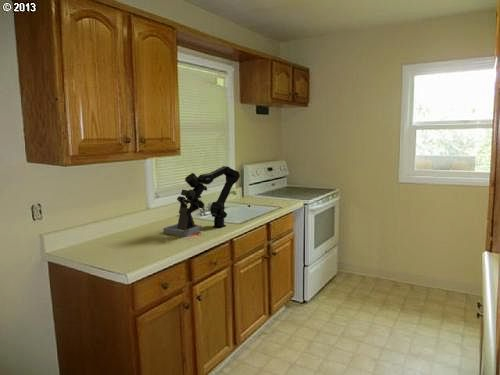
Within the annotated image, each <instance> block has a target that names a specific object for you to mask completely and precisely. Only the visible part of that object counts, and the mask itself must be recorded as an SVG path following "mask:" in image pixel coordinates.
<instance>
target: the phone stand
mask: <svg viewBox="0 0 500 375" xmlns="http://www.w3.org/2000/svg"><path fill="white" fill-rule="evenodd" d="M188 209H189V207H187V208H184V207H182V208H180V207H179V210H180V214H179V217H178V223H177V224H178V226H177V229H180V230H188V229H191V228H194V227H195V225H196V224H195V222H194V221H195V220H194V218H193V216H192V213H190V214H189V215H186V213H187V211H188Z"/></svg>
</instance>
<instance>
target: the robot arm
mask: <svg viewBox="0 0 500 375" xmlns="http://www.w3.org/2000/svg"><path fill="white" fill-rule="evenodd" d="M223 175H224V176H225V183H224V185H223V188H222V189H221V191H220V194H219V196H218V198H217V200H216V201H212V202H211V205H210V207H209V208H210V209H209V211H210V214H211V217H212V218H214V220H213V224H214V225H212V228H218V229H219V228H220V229H221V228H224V227H226V226H227V224H225V219H226V218H227V215H228V213H227V212H226V211H225V208H226V206H225V203H226V200H228V197H229V194H230V192H231V190H232V188H233V186H234V184H236V183H237V182H238V181H239V179H240V177H241V175H240V172H239V171H238V170H235V169H232V167H230V166H228V165H226V166H225V165H223V166H221V167H219V168H217V169H215V170H213V171H210V172H207V173H202V174H199V175H198V176H197V175H196V173H194V172H191V173H190V174H189V175H187V176H186V177H185V179H184V181H185V183H187V185H189V187H191V189H188V190H187V189H181V192H180V195H179V196H178V197H177V198H176V200H177V201H178V203H180V205H179V206H180V207H179V210H178V214H179V215H180V208H182V207H184V208H189V209H188V211H187V213H186V215H189V214H190V213H191V214H192V213H193V212H195V211H196V210H199V209H204V207H205V203H204V202H203V201H202V200H201V199H202V196H201V195H202V194H203V192H204V191H206V192H207V191H208V188H207V185H210V184H211V183H212V182H213V181H214V180H215V179H217V178H219V177H220V176H223ZM192 188H193V189H192ZM188 204H189V206H188Z"/></svg>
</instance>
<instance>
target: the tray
mask: <svg viewBox="0 0 500 375" xmlns="http://www.w3.org/2000/svg"><path fill="white" fill-rule="evenodd" d="M177 226H178V223H176V224H173V225H169V226H166V227H163V228H162V230H163V234H167V235H173V236H178V237H186V236H190V235H193V234H195V233H198V232H200V231H202V225H199V224H195V227H194V228H191V229H188V230H180V229H177ZM194 232H195V233H194ZM192 233H193V234H192ZM189 234H190V235H189Z"/></svg>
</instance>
